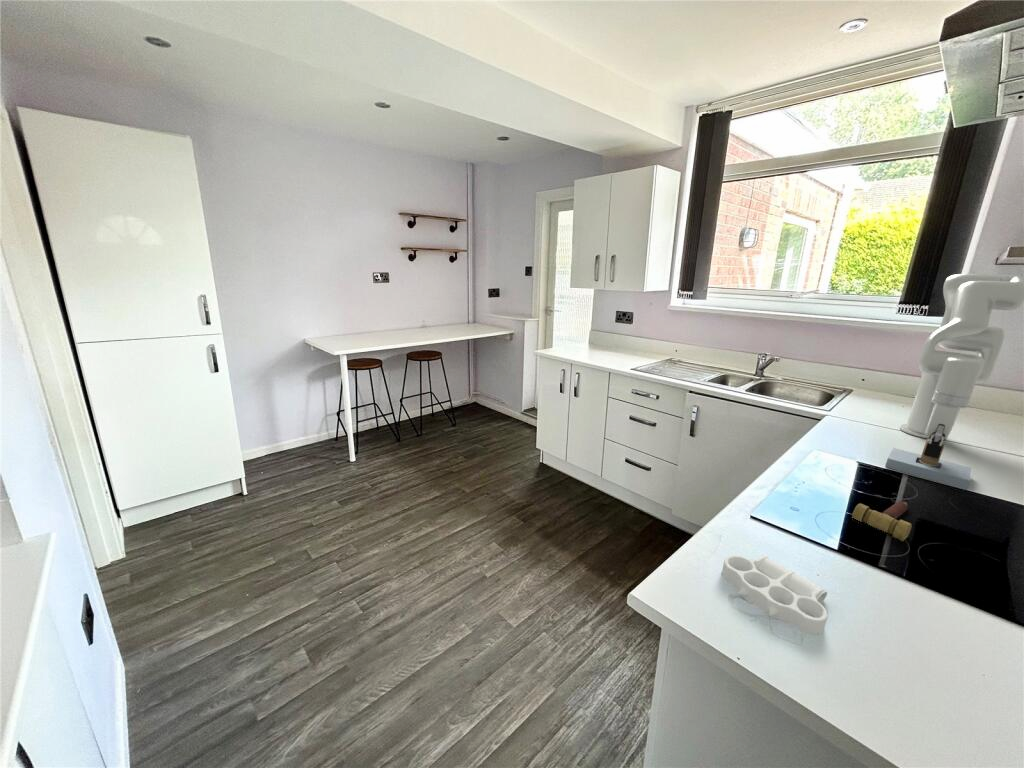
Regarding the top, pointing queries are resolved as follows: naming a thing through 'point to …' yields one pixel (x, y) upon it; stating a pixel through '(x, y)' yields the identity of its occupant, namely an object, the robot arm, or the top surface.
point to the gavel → (885, 519)
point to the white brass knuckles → (778, 591)
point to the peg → (930, 460)
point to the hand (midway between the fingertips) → (932, 451)
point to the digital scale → (929, 468)
